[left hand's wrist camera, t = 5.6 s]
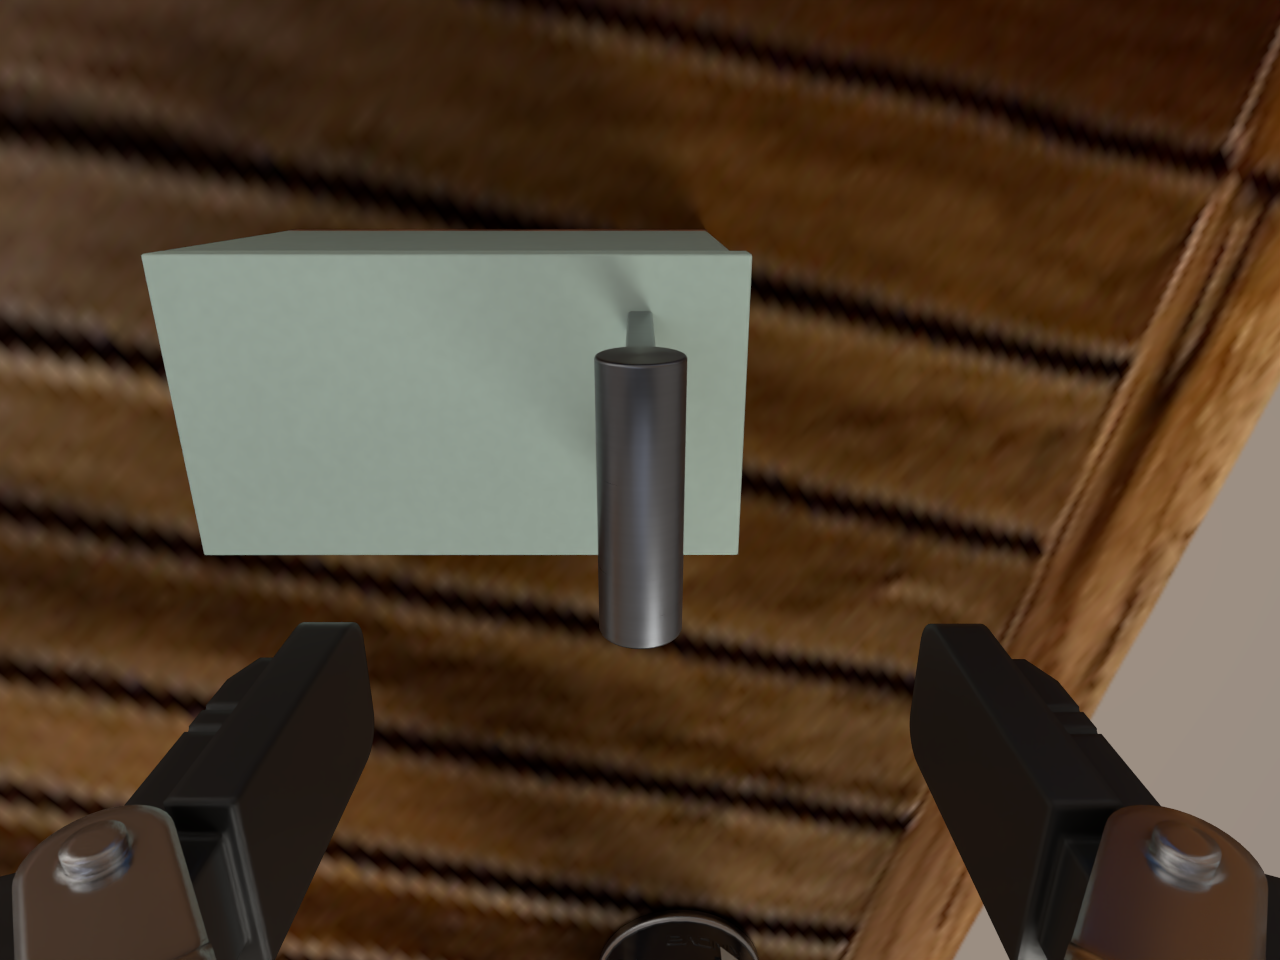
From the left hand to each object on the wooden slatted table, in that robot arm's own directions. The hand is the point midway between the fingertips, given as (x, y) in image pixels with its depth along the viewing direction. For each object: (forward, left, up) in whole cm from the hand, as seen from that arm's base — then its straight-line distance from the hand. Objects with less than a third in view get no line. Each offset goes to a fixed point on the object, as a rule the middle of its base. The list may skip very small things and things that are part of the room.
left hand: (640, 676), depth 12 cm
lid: (-2, +5, -15) cm, 16 cm away
